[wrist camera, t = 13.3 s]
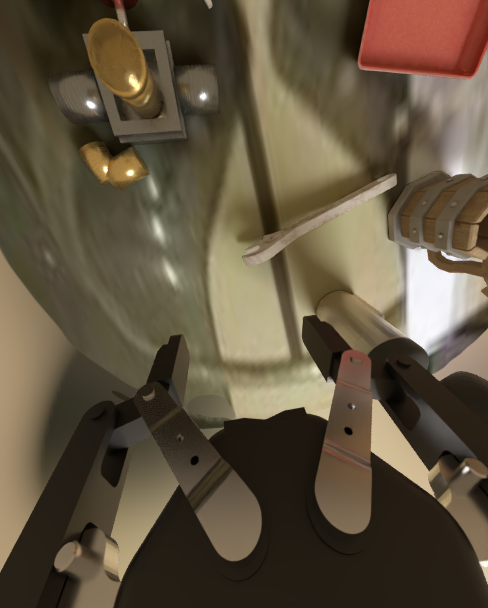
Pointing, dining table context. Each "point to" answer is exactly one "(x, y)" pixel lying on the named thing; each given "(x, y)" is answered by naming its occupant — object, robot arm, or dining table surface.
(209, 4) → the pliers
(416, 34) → the plant saucer
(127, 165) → the brass elbow
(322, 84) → the dining table surface
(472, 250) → the tankard
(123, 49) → the brass knob
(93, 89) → the valve body
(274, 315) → the dining table surface
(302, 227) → the wrench
